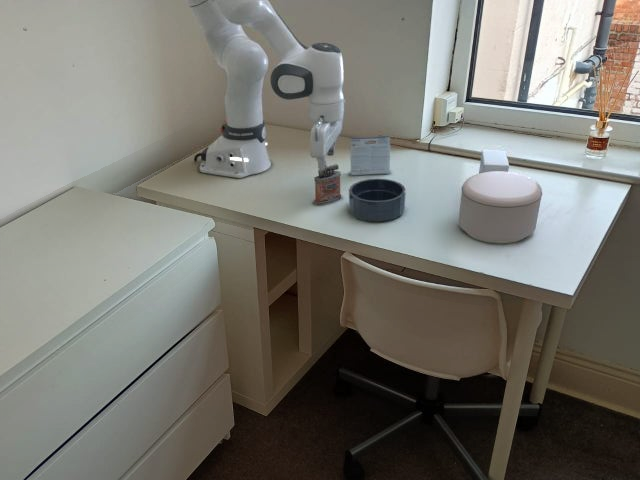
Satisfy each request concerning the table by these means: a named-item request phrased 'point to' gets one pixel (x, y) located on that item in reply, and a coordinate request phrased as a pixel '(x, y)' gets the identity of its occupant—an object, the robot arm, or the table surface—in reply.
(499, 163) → the cosmetics box
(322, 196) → the lighter
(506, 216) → the container
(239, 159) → the robot arm
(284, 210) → the table surface
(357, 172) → the ink box
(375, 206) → the bowl
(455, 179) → the table surface
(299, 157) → the table surface
